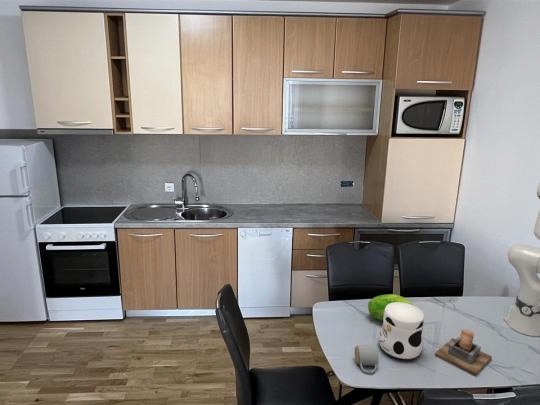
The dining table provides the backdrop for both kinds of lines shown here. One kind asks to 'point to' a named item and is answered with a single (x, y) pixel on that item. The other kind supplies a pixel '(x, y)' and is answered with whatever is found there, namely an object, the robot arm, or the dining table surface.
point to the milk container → (402, 330)
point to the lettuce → (383, 304)
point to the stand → (463, 356)
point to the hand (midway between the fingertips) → (537, 305)
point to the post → (466, 340)
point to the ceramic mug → (367, 356)
